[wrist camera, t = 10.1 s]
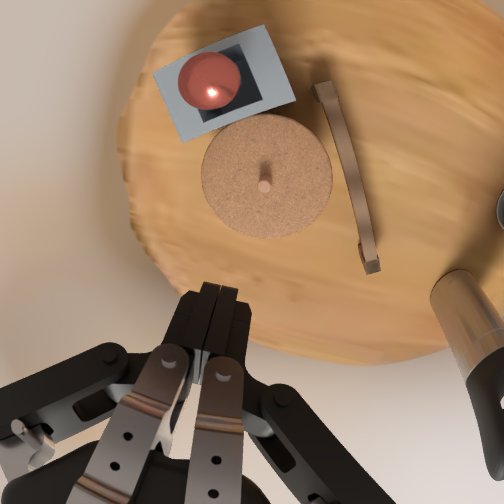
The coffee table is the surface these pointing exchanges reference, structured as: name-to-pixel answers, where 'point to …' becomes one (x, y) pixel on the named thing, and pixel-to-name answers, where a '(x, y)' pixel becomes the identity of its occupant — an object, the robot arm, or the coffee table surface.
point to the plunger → (209, 80)
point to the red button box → (250, 96)
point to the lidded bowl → (267, 176)
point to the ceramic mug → (500, 210)
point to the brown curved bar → (349, 173)
